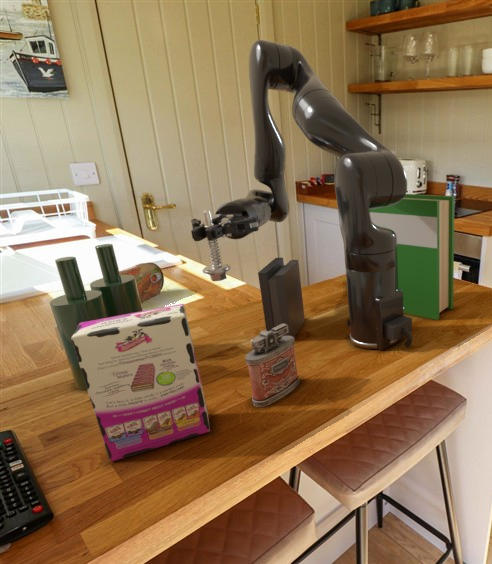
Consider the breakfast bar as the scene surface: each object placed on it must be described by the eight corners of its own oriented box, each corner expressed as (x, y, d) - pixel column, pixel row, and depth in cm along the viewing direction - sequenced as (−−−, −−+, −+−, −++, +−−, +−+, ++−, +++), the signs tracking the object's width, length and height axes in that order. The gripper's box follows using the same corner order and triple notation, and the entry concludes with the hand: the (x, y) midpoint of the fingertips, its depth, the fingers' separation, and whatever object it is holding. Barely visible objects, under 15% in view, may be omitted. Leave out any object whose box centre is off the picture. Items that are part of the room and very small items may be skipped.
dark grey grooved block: (304, 319, 88) (297, 257, 84) (291, 341, 79) (283, 272, 74) (283, 320, 88) (275, 257, 84) (267, 341, 79) (257, 272, 74)
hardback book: (453, 308, 92) (454, 196, 84) (437, 320, 86) (437, 201, 78) (385, 294, 101) (381, 192, 93) (367, 304, 95) (361, 197, 87)
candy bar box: (208, 412, 58) (185, 301, 53) (211, 433, 54) (187, 315, 49) (112, 439, 54) (77, 320, 48) (108, 464, 49) (68, 336, 44)
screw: (228, 273, 82) (235, 279, 78) (201, 278, 79) (208, 285, 76) (216, 206, 78) (223, 209, 74) (188, 209, 75) (194, 212, 71)
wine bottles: (124, 346, 78) (97, 241, 72) (159, 346, 78) (135, 240, 72) (63, 390, 65) (22, 265, 58) (105, 390, 65) (69, 264, 58)
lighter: (263, 409, 59) (253, 345, 55) (247, 402, 60) (236, 339, 57) (304, 382, 65) (297, 322, 62) (289, 376, 67) (281, 318, 63)
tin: (120, 312, 95) (111, 276, 92) (108, 311, 96) (99, 276, 93) (167, 290, 109) (161, 258, 106) (157, 289, 110) (150, 258, 107)
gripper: (206, 200, 89) (158, 214, 72) (271, 198, 88) (237, 212, 72) (212, 235, 91) (167, 257, 75) (275, 234, 90) (244, 255, 74)
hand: (202, 235), depth 73 cm, fingers closed on screw, 2 cm apart
